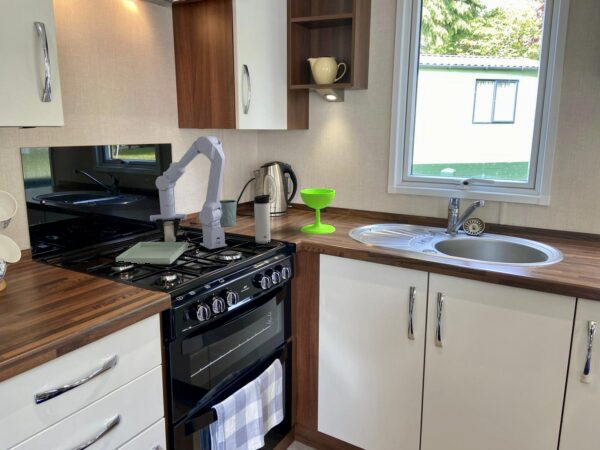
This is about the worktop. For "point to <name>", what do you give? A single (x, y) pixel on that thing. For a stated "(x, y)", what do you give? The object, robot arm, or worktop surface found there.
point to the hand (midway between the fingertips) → (169, 236)
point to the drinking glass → (228, 213)
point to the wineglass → (317, 208)
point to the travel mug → (262, 219)
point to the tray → (153, 252)
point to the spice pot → (169, 232)
